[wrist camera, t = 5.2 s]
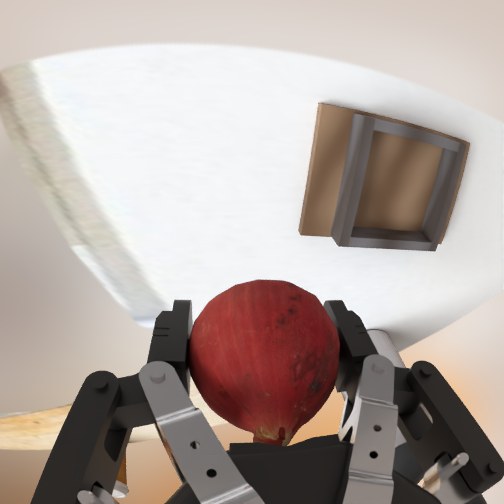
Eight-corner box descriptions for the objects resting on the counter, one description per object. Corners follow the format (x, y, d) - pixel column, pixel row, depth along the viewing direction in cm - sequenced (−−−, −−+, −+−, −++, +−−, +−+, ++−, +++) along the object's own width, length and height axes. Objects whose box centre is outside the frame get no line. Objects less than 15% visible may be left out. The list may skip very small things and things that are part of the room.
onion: (276, 219, 13) (334, 368, 6) (332, 305, 16) (389, 439, 9) (169, 286, 14) (142, 442, 7) (238, 355, 17) (251, 489, 10)
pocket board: (464, 140, 28) (484, 148, 24) (436, 240, 34) (452, 254, 31) (318, 103, 25) (331, 105, 22) (298, 230, 31) (307, 247, 28)
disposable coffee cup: (81, 430, 49) (70, 479, 38) (119, 431, 49) (112, 485, 38) (104, 450, 54) (97, 495, 43) (141, 451, 53) (137, 500, 43)
